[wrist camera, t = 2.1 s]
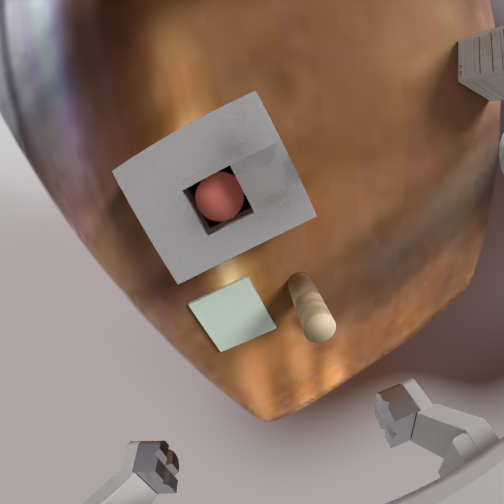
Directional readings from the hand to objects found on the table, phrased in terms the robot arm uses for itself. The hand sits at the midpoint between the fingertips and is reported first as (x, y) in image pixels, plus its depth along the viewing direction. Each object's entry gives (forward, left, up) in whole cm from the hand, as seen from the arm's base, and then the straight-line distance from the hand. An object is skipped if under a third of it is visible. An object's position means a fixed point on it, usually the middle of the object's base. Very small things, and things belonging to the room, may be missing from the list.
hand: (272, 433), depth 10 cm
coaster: (+6, +8, -26) cm, 28 cm away
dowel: (-3, +8, -26) cm, 27 cm away
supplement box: (-40, -8, -26) cm, 48 cm away
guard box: (0, -7, -26) cm, 27 cm away
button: (0, -6, -23) cm, 24 cm away
